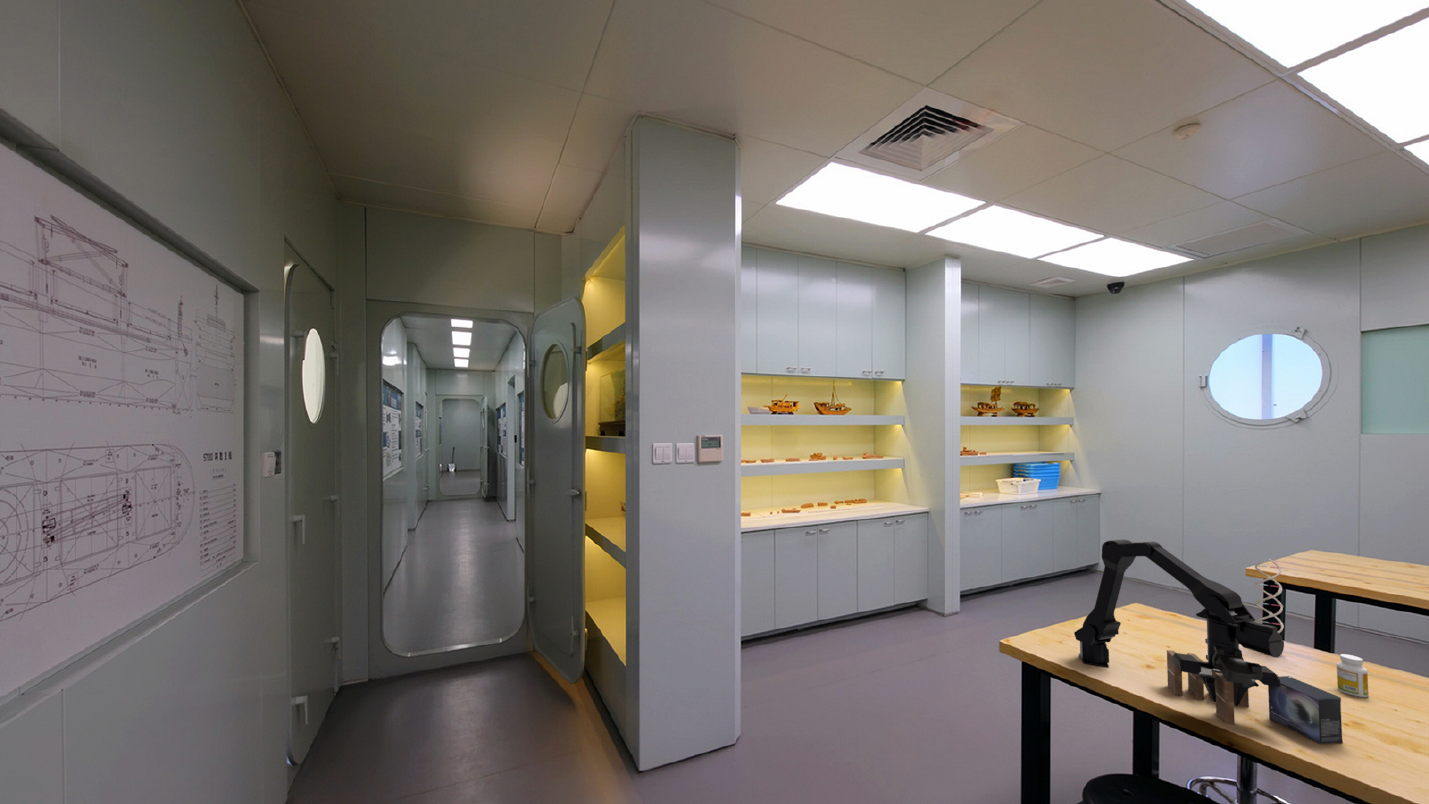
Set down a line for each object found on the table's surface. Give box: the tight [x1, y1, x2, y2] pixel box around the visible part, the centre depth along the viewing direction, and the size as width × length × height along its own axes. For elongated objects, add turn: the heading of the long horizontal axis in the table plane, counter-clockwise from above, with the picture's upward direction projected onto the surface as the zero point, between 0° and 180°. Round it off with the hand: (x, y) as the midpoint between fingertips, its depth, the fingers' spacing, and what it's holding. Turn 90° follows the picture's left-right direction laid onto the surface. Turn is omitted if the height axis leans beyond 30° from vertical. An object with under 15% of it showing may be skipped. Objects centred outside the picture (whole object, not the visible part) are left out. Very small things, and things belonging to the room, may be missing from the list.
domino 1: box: [1166, 649, 1184, 697], centre depth 143 cm, size 2×5×10 cm, turn 156°
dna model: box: [1254, 557, 1285, 634], centre depth 169 cm, size 7×6×30 cm
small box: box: [1267, 675, 1343, 745], centre depth 125 cm, size 11×6×10 cm, turn 5°
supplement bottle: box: [1336, 653, 1369, 698], centre depth 143 cm, size 5×5×10 cm
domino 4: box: [1238, 689, 1250, 708], centre depth 137 cm, size 2×5×10 cm, turn 156°
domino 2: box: [1186, 652, 1205, 700], centre depth 141 cm, size 2×5×10 cm, turn 156°
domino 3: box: [1215, 673, 1236, 725], centre depth 129 cm, size 2×5×10 cm, turn 156°
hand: (1224, 703), depth 129 cm, fingers open, 4 cm apart
